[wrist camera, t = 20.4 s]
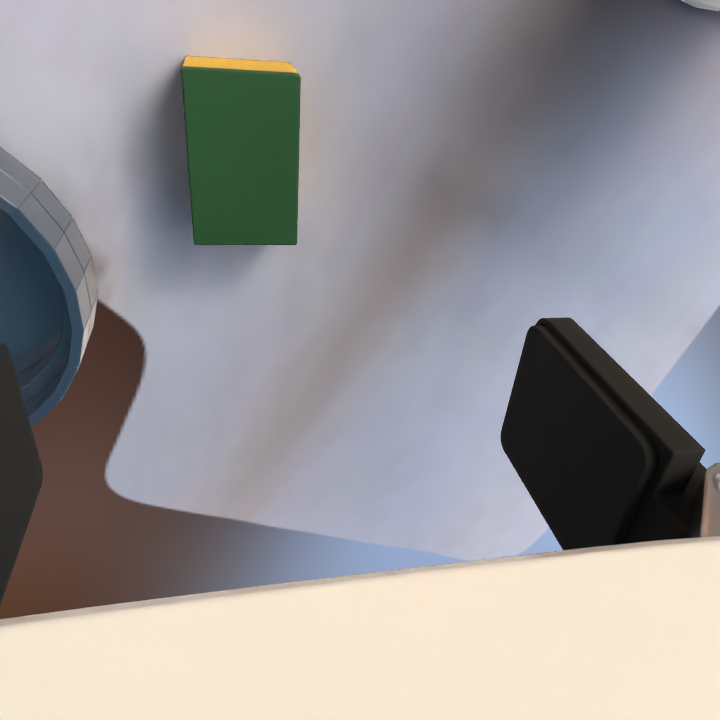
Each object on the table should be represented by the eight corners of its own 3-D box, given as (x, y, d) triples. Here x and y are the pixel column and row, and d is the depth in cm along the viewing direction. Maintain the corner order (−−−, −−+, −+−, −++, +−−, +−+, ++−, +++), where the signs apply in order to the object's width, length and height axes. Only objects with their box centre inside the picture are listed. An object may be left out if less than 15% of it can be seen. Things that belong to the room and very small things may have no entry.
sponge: (185, 55, 25) (180, 68, 22) (290, 62, 26) (300, 75, 23) (196, 214, 29) (194, 245, 26) (288, 215, 30) (297, 245, 27)
